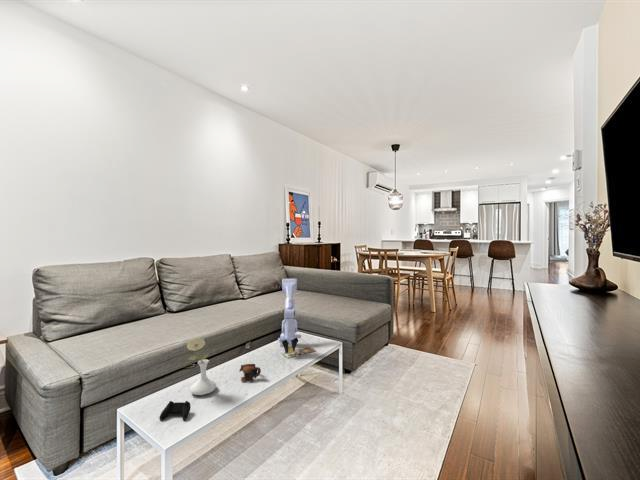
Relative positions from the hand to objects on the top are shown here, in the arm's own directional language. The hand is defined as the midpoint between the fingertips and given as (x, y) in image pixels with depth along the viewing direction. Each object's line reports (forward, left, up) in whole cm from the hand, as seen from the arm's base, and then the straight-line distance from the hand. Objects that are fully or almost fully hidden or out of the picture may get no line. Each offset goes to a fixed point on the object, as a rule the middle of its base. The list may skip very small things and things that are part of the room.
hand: (289, 351), depth 180 cm
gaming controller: (-33, -63, -3) cm, 71 cm away
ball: (0, 0, -1) cm, 1 cm away
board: (+4, +3, -3) cm, 6 cm away
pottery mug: (-14, -29, -3) cm, 32 cm away
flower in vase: (-32, -44, -3) cm, 55 cm away
